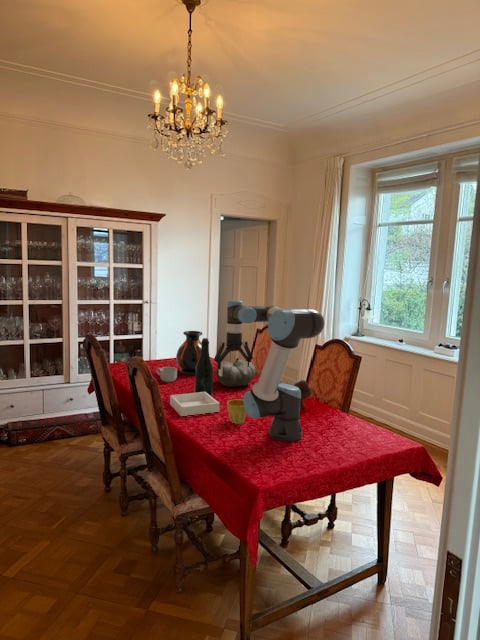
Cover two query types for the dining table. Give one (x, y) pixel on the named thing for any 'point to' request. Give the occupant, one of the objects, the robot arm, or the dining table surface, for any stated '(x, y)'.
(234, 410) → the plant pot
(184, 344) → the amphora vase
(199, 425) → the dining table surface
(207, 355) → the beer bottle
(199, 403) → the bin
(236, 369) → the gourd
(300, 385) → the ice cream bowl
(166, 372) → the teacup
